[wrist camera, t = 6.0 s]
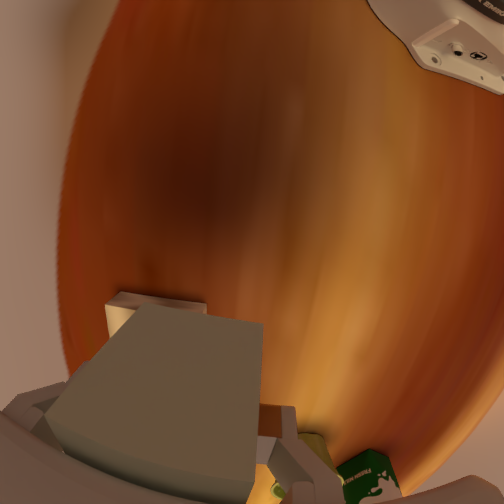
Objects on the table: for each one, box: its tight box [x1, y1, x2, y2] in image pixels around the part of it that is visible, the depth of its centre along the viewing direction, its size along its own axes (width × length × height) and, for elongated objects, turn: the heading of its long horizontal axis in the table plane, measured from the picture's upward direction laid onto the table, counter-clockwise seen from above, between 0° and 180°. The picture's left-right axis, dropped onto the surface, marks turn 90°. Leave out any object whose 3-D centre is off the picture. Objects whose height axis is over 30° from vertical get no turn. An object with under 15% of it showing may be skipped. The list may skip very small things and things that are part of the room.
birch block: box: [105, 292, 207, 338], centre depth 28 cm, size 10×10×4 cm
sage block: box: [44, 302, 263, 504], centre depth 8 cm, size 5×5×7 cm
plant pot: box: [271, 433, 344, 500], centre depth 29 cm, size 9×9×9 cm
